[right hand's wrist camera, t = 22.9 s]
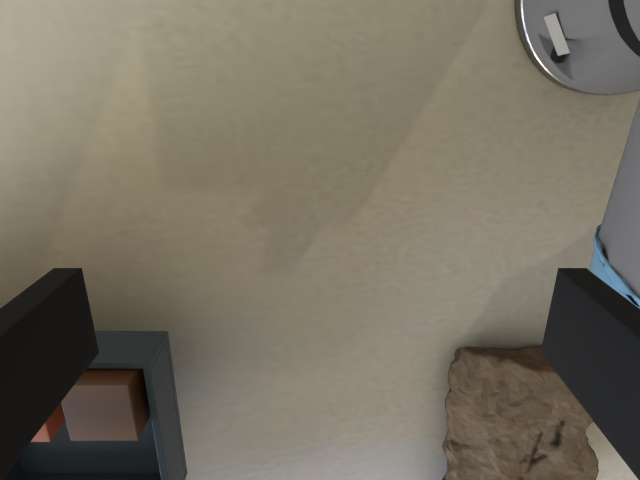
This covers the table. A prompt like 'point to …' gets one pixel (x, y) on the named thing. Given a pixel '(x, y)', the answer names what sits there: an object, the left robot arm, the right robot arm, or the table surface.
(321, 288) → the table surface
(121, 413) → the walnut cube
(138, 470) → the tray
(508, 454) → the stone
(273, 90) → the table surface
